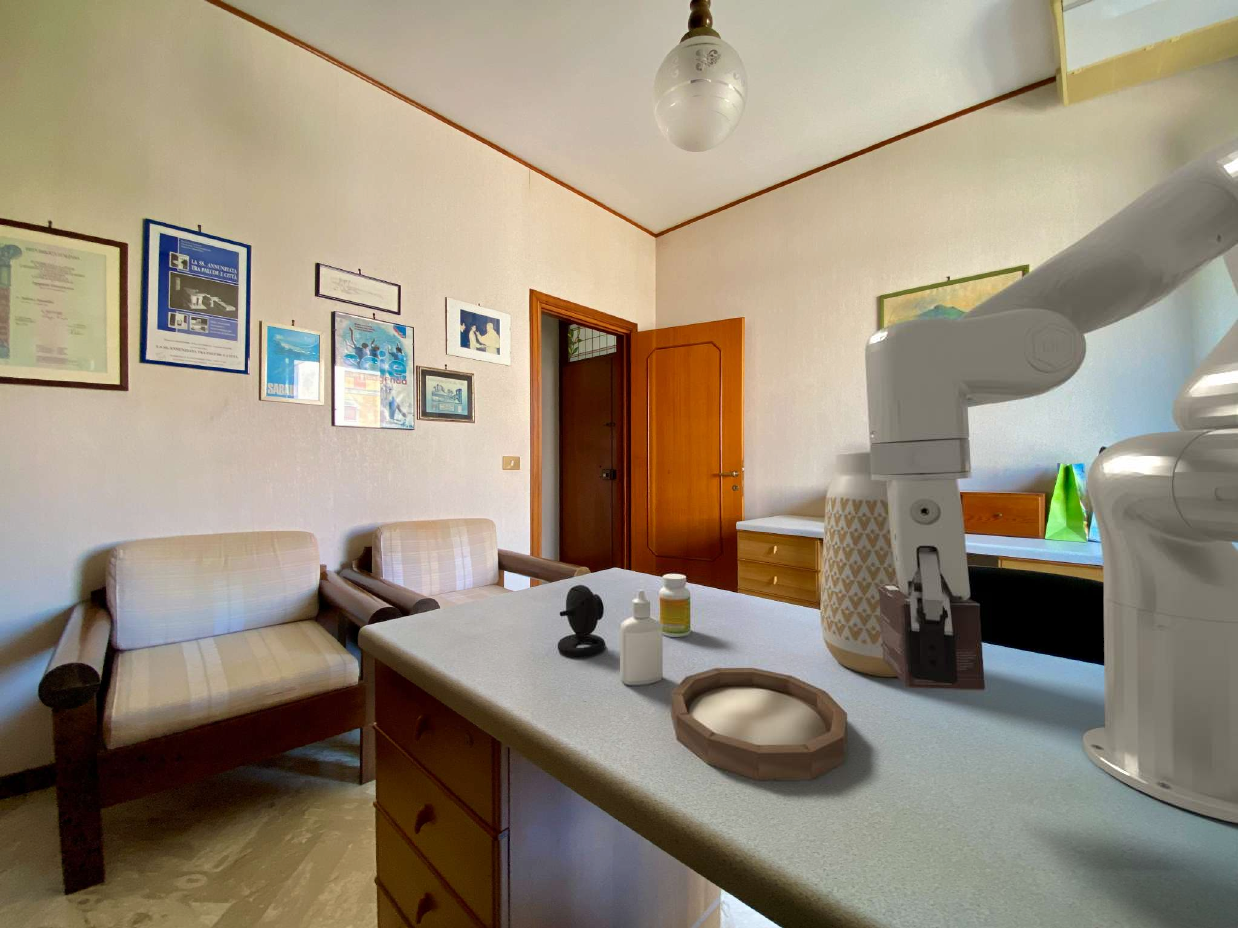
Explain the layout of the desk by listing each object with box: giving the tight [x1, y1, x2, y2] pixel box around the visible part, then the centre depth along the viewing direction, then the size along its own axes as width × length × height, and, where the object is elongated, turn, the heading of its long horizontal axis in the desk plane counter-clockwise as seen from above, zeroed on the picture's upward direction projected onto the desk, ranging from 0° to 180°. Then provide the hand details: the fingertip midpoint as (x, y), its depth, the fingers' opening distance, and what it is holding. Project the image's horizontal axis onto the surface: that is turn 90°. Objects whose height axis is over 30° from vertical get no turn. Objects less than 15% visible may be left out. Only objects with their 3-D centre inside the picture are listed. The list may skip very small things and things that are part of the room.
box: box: [878, 586, 986, 692], centre depth 42 cm, size 6×6×7 cm
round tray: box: [670, 667, 848, 781], centre depth 52 cm, size 18×18×2 cm
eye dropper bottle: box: [619, 589, 664, 686], centre depth 63 cm, size 4×6×12 cm
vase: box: [819, 450, 899, 678], centre depth 68 cm, size 14×14×31 cm
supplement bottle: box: [658, 573, 691, 638], centre depth 81 cm, size 5×5×10 cm
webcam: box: [557, 584, 606, 659], centre depth 74 cm, size 8×8×10 cm
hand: (928, 659), depth 42 cm, fingers closed on box, 7 cm apart
